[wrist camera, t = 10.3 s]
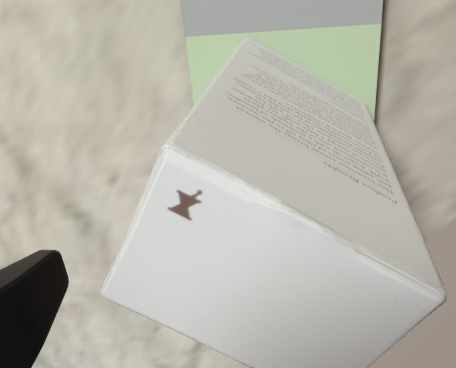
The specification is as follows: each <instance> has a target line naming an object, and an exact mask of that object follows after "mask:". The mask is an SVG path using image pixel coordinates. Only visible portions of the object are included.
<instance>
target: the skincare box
mask: <svg viewBox="0 0 456 368" xmlns="http://www.w3.org/2000/svg"><path fill="white" fill-rule="evenodd" d="M100 293H101V295H102V296H103V297H104V298H106V299H108V300H110V301H112V302H114V303H116V304H118V305H121V306H123V307H125V308H127V309H129V310H132V311H134V312H136V313H138V314H140V315H143V316H145V317H147V318H149V319H151V320H153V321H155V322H158V323H160V324H162V325H164V326H166V327H168V328H170V329H173V330H175V331H177V332H179V333H181V334H183V335H185V336H187V337H189V338H191V339H193V340H195V341H197V342H200V343H202V344H204V345H206V346H208V347H210V348H212V349H214V350H216V351H218V352H220V353H222V354H224V355H226V356H228V357H230V358H232V359H234V360H237V361H239V362H241V363H243V364H245V365H247V366H249V367H251V368H368V367H369V366H370V365H371V364H372V363H374V362H375V361H376V360H377V359H378V358H379V357H380V356H382V355H383V354H384V353H385V352H386V351H387V350H388V349H390V348H391V347H392V346H393V345H394V344H395V343H397V342H398V341H399V340H400V339H401V338H402V337H404V336H405V335H406V334H407V333H408V332H409V331H410V330H412V329H413V328H414V327H415V326H416V325H418V324H419V323H420V322H421V321H422V320H423V319H425V318H426V317H427V316H428V315H429V314H430V313H432V312H433V311H434V310H436V309H437V308H438V307H439V306H441V305H442V304H443V303H444V302H445V301H446V299H447V293H446V290H445V288H444V285H443V283H442V281H441V278H440V276H439V273H438V271H437V269H436V267H435V265H434V262H433V260H432V257H431V255H430V252H429V251H428V248H427V246H426V244H425V241H424V239H423V236H422V234H421V232H420V230H419V228H418V225H417V223H416V220H415V218H414V216H413V213H412V211H411V209H410V206H409V204H408V202H407V200H406V197H405V195H404V193H403V190H402V188H401V185H400V183H399V181H398V178H397V176H396V174H395V171H394V169H393V166H392V164H391V162H390V160H389V157H388V155H387V153H386V150H385V148H384V145H383V143H382V141H381V139H380V136H379V134H378V132H377V129H376V127H375V124H374V122H373V120H372V117H371V115H370V113H369V110H368V108H367V106H366V104H365V103H364V102H363V101H361V100H359V99H357V98H356V97H354V96H352V95H350V94H349V93H347V92H345V91H343V90H342V89H340V88H338V87H336V86H335V85H333V84H331V83H329V82H327V81H326V80H324V79H322V78H320V77H318V76H317V75H315V74H313V73H312V72H310V71H308V70H306V69H304V68H303V67H301V66H299V65H297V64H295V63H294V62H292V61H290V60H288V59H287V58H285V57H283V56H281V55H279V54H278V53H276V52H274V51H272V50H270V49H269V48H267V47H265V46H263V45H261V44H260V43H258V42H256V41H254V40H253V39H251V38H249V37H246V38H245V39H244V40H243V41H242V42H241V44H240V45H239V47H238V48H237V49H236V51H235V52H234V53H233V55H232V56H231V57H230V59H229V60H228V61H227V62H226V64H225V65H224V66H223V68H222V69H221V70H220V71H219V73H218V74H217V76H216V77H215V78H214V80H213V81H212V82H211V84H210V85H209V86H208V88H207V89H206V90H205V91H204V93H203V94H202V96H201V97H200V98H199V100H198V101H197V103H196V104H195V105H194V107H193V108H192V110H191V111H190V112H189V114H188V115H187V117H186V118H185V119H184V121H183V122H182V123H181V124H180V125H179V127H178V128H177V129H176V130H175V132H174V133H173V134H172V135H171V136H170V138H169V139H168V140H167V141H166V142H165V144H164V145H163V146H162V148H161V150H160V153H159V155H158V158H157V160H156V162H155V165H154V167H153V170H152V172H151V175H150V177H149V179H148V181H147V184H146V186H145V188H144V191H143V193H142V195H141V198H140V200H139V202H138V204H137V207H136V209H135V211H134V214H133V216H132V218H131V221H130V223H129V225H128V227H127V230H126V232H125V234H124V237H123V239H122V241H121V244H120V246H119V248H118V250H117V253H116V255H115V257H114V260H113V262H112V264H111V266H110V269H109V271H108V273H107V276H106V278H105V280H104V282H103V285H102V287H101V292H100Z"/></svg>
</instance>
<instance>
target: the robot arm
mask: <svg viewBox="0 0 456 368" xmlns="http://www.w3.org/2000/svg"><path fill="white" fill-rule="evenodd" d="M68 283H69V279H68V275H67V272H66V268H65V265H64V262H63V259H62V256H61V254H60V253H59V251H57V250H39V251H37V252H35V253H33V254H31V255H29V256H27V257H25V258H23V259H21V260H19V261H17V262H15V263H13V264H11V265H9V266H7V267H5V268H3V269H1V270H0V368H31V367H32V366H33V364H34V362H35V360H36V358H37V356H38V354H39V353H40V351H41V349H42V347H43V345H44V342H45V340H46V338H47V336H48V333H49V331H50V329H51V326H52V324H53V322H54V319H55V317H56V314H57V312H58V310H59V307H60V305H61V303H62V300H63V298H64V295H65V293H66V291H67V288H68Z"/></svg>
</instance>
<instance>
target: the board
mask: <svg viewBox="0 0 456 368" xmlns="http://www.w3.org/2000/svg"><path fill="white" fill-rule="evenodd" d="M181 7H182V15H183V23H184V31H185V39H186V47H187V55H188V63H189V72H190V80H191V88H192V96H193V104H194V105H195V104H196V103H197V101H198V100H199V98H200V97H201V96H202V94H203V93H204V91H205V90H206V89H207V88H208V86H209V85H210V84H211V82H212V81H213V80H214V78H215V77H216V76H217V74H218V73H219V71H220V70H221V69H222V68H223V66H224V65H225V64H226V62H227V61H228V60H229V59H230V57H231V56H232V55H233V53H234V52H235V51H236V49H237V48H238V47H239V45H240V44H241V42H242V41H243V40H244V39H245V38H246V37H249V38H251V39H253V40H254V41H256V42H258V43H260V44H261V45H263V46H265V47H267V48H269V49H270V50H272V51H274V52H276V53H278V54H279V55H281V56H283V57H285V58H287V59H288V60H290V61H292V62H294V63H295V64H297V65H299V66H301V67H303V68H304V69H306V70H308V71H310V72H312V73H313V74H315V75H317V76H318V77H320V78H322V79H324V80H326V81H327V82H329V83H331V84H333V85H335V86H336V87H338V88H340V89H342V90H343V91H345V92H347V93H349V94H350V95H352V96H354V97H356V98H357V99H359V100H361V101H363V102H364V103H365V104H366V106H367V108H368V110H369V113H370V115H371V117H372V120H373V122H374V116H375V103H376V89H377V76H378V63H379V49H380V36H381V22H382V9H383V0H181Z"/></svg>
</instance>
